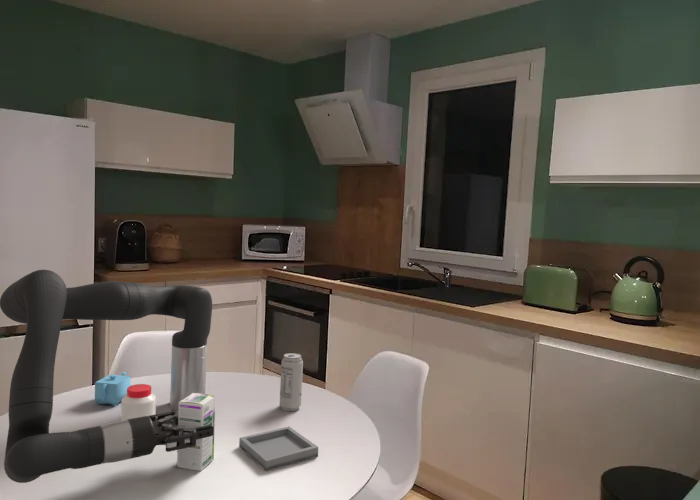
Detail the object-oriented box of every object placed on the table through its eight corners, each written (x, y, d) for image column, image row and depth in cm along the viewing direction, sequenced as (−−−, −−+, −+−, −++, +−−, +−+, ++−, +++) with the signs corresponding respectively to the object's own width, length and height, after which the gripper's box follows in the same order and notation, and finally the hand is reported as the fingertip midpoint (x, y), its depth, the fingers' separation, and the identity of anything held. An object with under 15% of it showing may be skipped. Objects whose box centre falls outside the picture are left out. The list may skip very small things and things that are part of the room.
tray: (239, 446, 121) (239, 437, 121) (288, 434, 129) (289, 426, 129) (265, 471, 111) (266, 461, 111) (317, 456, 119) (318, 447, 119)
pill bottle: (162, 430, 128) (163, 386, 127) (137, 441, 121) (138, 395, 120) (138, 423, 131) (140, 380, 131) (113, 434, 124) (114, 389, 124)
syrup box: (201, 471, 109) (204, 404, 108) (175, 467, 110) (178, 400, 109) (213, 459, 115) (216, 395, 114) (189, 455, 116) (191, 391, 115)
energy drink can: (304, 409, 146) (307, 357, 145) (285, 413, 143) (287, 359, 142) (294, 402, 151) (296, 351, 150) (275, 405, 148) (278, 353, 147)
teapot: (116, 392, 152) (116, 367, 151) (136, 394, 151) (136, 369, 150) (91, 407, 140) (91, 380, 139) (112, 409, 139) (113, 382, 139)
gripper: (136, 434, 97) (219, 417, 107) (117, 409, 109) (194, 395, 118) (135, 473, 98) (218, 453, 108) (116, 444, 109) (193, 428, 119)
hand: (205, 423), depth 113 cm, fingers closed on syrup box, 8 cm apart
